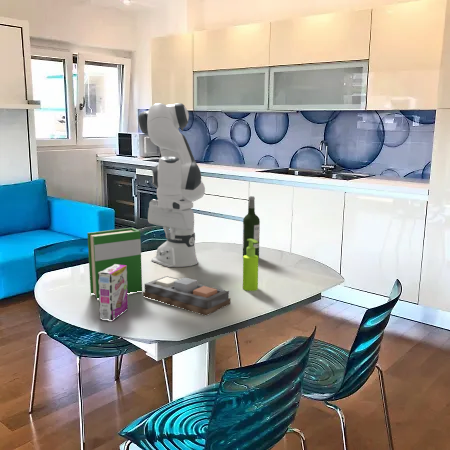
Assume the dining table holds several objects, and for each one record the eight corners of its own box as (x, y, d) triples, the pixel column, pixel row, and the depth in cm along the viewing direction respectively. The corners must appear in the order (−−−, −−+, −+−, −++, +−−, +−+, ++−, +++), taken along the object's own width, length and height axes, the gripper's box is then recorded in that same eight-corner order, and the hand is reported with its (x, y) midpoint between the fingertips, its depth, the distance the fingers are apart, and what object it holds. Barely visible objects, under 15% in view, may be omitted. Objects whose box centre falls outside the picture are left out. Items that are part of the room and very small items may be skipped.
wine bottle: (259, 260, 231) (260, 197, 225) (242, 260, 232) (243, 197, 226) (258, 256, 239) (259, 195, 233) (242, 256, 239) (243, 195, 233)
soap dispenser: (248, 292, 187) (249, 241, 183) (240, 287, 193) (240, 238, 189) (262, 290, 189) (262, 240, 185) (252, 285, 195) (253, 236, 191)
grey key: (174, 290, 177) (173, 281, 176) (184, 286, 181) (184, 277, 181) (186, 294, 173) (186, 284, 172) (197, 289, 178) (197, 280, 177)
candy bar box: (112, 322, 158) (110, 273, 155) (99, 320, 160) (96, 272, 156) (129, 310, 169) (127, 264, 165) (116, 308, 170) (114, 263, 167)
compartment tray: (142, 297, 181) (142, 284, 180) (168, 287, 192) (168, 275, 191) (206, 315, 164) (206, 301, 163) (230, 303, 175) (230, 290, 174)
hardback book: (97, 301, 177) (94, 236, 173) (90, 295, 184) (87, 232, 179) (142, 292, 187) (140, 231, 182) (134, 286, 193) (132, 227, 188)
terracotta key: (193, 299, 172) (193, 290, 171) (203, 295, 176) (203, 286, 176) (206, 303, 168) (206, 293, 168) (217, 298, 173) (217, 289, 172)
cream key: (156, 289, 182) (155, 280, 181) (167, 285, 187) (166, 276, 186) (168, 293, 179) (167, 283, 178) (178, 288, 183) (178, 279, 183)
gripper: (143, 199, 181) (144, 235, 184) (185, 206, 169) (185, 244, 172) (155, 197, 186) (156, 232, 189) (196, 203, 174) (196, 241, 177)
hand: (170, 238), depth 180 cm, fingers closed
